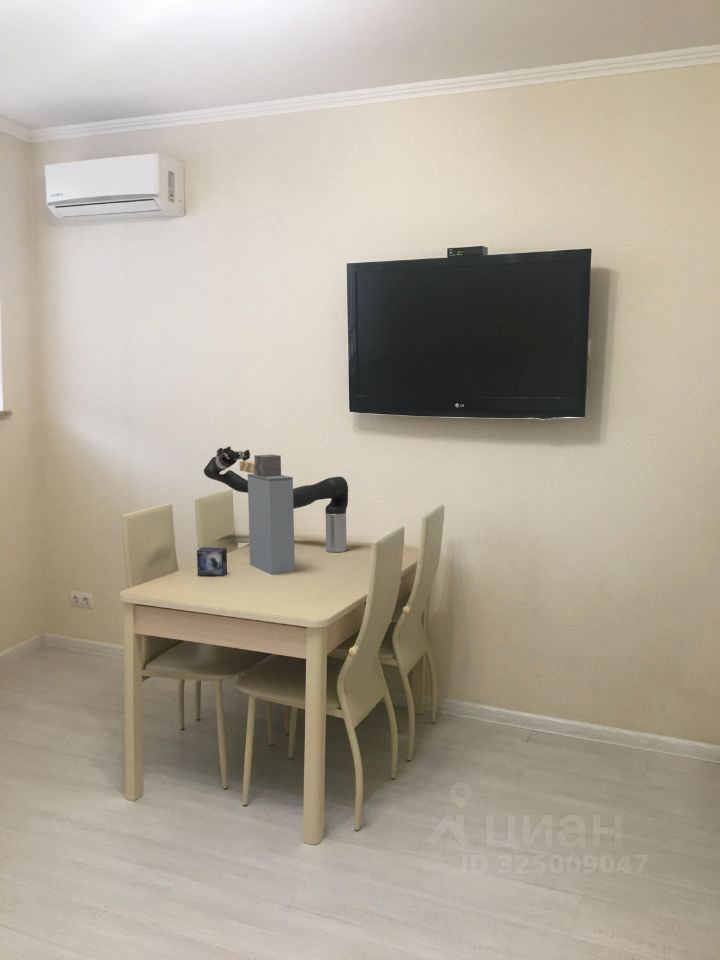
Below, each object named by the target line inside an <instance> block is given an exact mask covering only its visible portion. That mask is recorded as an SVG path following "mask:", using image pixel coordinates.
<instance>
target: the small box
mask: <svg viewBox="0 0 720 960" xmlns="http://www.w3.org/2000/svg"><path fill="white" fill-rule="evenodd" d="M227 549H228V548H227V547H205V546H203V547H201V548H199V549H197V550H196V563H197V564H196V565H197V566H196V567H197V569H196V570H197V576H198V575H204V576H203V577H213V576H223V577H224V576H226V575H227V574H228V557H227V556H228V555H227V553H228V552H227V551H228V550H227Z"/></svg>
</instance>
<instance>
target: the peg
mask: <svg viewBox="0 0 720 960" xmlns="http://www.w3.org/2000/svg"><path fill="white" fill-rule="evenodd" d="M253 456H254V461H252V460H246V461H243V460H240V461H239V471H241V472H245V473H248V474H255V475H257V476H261V477H267V476H281V475H282V462H281V461H282V457H281V455H279V454H272V453H271V454H256V455H253Z"/></svg>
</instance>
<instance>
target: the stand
mask: <svg viewBox="0 0 720 960" xmlns="http://www.w3.org/2000/svg"><path fill="white" fill-rule="evenodd" d="M293 479H294V478H293V477H292V476H289V475H283V474H281V476H267V477H261V476H257V475H255V474H254V473H247V481H248V493H247V494H248V495H247V498H248V532H249V536H248V537H249V564H250V566H252V567H255V568H256V569H258V568H259V570H261V571H263V572H265V573H267V574H269V575H273V576H274V575H281V574H286V573H295V572H296V563H295V561H296V560H295V559H296V558H295V557H296V556H295V525H294V524H295V521H294V514H295V513H294V509H293V489H294V480H293Z"/></svg>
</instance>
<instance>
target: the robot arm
mask: <svg viewBox="0 0 720 960" xmlns="http://www.w3.org/2000/svg"><path fill="white" fill-rule="evenodd" d="M249 459H251V453H250V449H246V450H244V451H241V450H238V451H234V450H233V449H232V446H227V447H220V448H218V449H217V450H216V456H213V457H212V458H211V459H210V460H209V462H208V463H207V465H206V466H205V467H204V469H203V473H204V475H205V477H207V478H208V479H211V480H215V481H217V482H221V483H223V484H225V485H226V486H228V487H229V488H230V489H232V490H234V491H236V492H240V493H246V494H248V479H246V478H244V477H242V476H241V475H239V474H238V473H236V472H235V471H233V470H231V469H229V468H230V467H232V466H233V465H235V464H236V463H237V461H238V460H242V461H248V460H249ZM226 469H228V470H227V471H226ZM223 471H226V472H224V473H221V472H223ZM328 499H330V502H329V504H327V505H326V506H325V508H324V509H325V551H326V552H329V553H343V552H346V551H347V549H348V548H347V547H348V545H347V543H348V542H347V508H348V505H349V504H348V503H349V485H348V482H347V479H346V478H345V477H343V476H333V477H328V478H325V479H323V480H320V481H319V482H316V483H314V484H310V485H309V484H307V485H302V486H301V485H300V486H298V487H293V510H295V509H299V508H303V507H306V506H309V505H312V504H313V503H314V502H316V501H319V500H328Z"/></svg>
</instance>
